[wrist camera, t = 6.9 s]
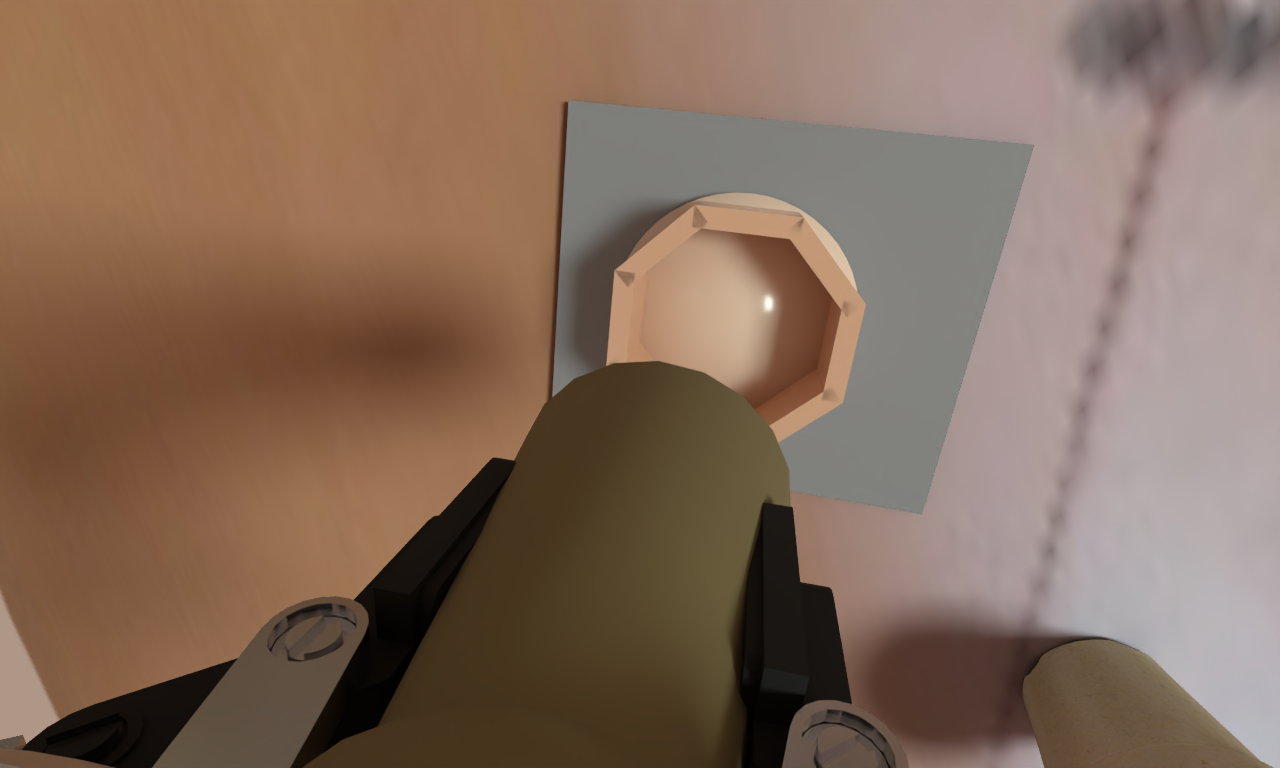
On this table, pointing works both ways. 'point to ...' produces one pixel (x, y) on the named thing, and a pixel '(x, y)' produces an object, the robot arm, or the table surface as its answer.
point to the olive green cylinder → (598, 591)
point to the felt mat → (866, 233)
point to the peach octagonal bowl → (743, 304)
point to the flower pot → (1121, 713)
